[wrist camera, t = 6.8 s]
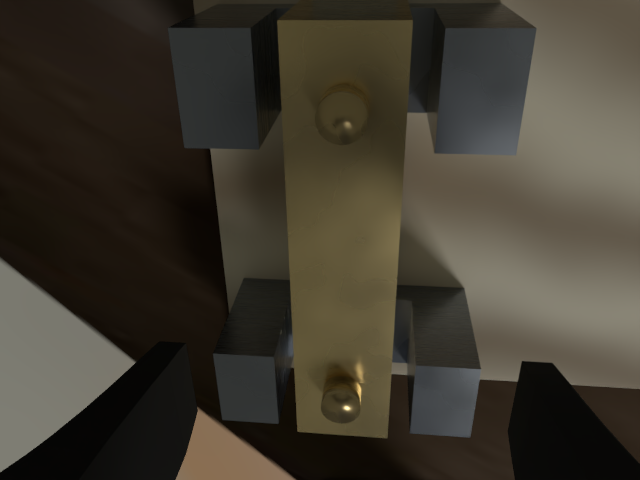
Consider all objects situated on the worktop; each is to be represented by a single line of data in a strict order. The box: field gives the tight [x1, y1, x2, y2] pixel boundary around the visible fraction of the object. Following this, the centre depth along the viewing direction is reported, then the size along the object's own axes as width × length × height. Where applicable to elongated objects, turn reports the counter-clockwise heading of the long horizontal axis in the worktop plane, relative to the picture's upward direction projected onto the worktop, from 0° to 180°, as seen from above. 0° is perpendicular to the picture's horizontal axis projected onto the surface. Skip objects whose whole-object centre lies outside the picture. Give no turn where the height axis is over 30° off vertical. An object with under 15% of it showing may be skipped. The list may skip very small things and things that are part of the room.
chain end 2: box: [213, 278, 481, 437], centre depth 21 cm, size 4×8×4 cm, turn 91°
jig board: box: [193, 0, 640, 389], centre depth 20 cm, size 16×17×1 cm
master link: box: [277, 0, 413, 438], centre depth 17 cm, size 13×3×5 cm, turn 1°
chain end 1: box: [168, 3, 537, 155], centre depth 15 cm, size 4×8×4 cm, turn 91°
